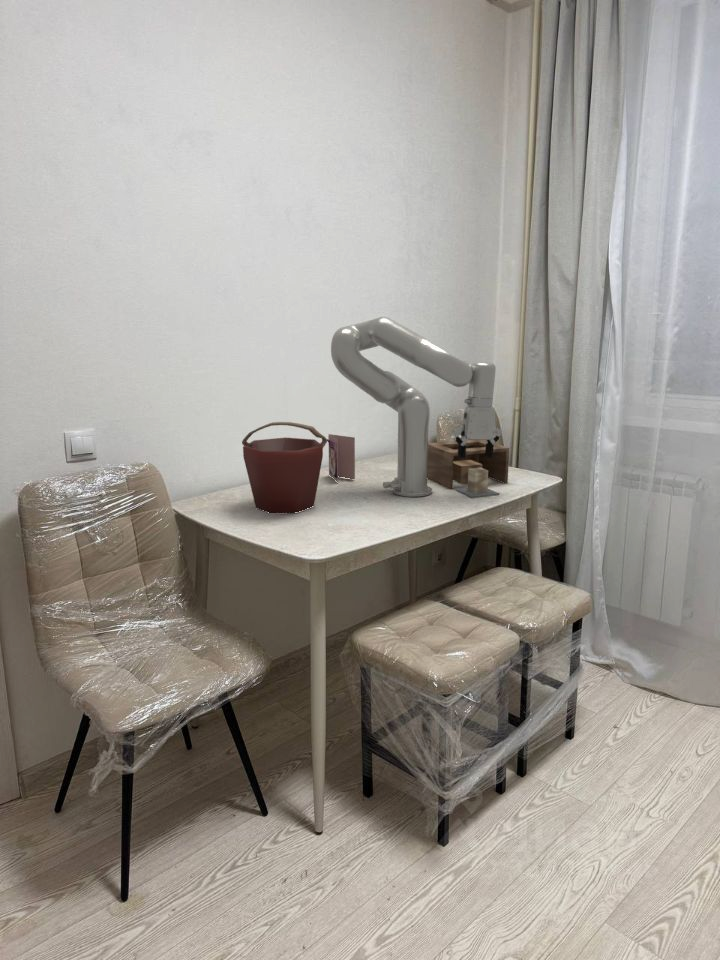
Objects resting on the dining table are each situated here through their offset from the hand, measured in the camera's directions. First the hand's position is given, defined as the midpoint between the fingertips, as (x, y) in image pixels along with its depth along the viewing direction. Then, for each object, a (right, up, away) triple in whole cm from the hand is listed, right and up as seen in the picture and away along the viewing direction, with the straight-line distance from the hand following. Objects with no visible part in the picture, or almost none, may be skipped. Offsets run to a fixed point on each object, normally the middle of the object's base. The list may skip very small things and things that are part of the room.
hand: (475, 457), depth 209 cm
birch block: (+1, -11, +3) cm, 11 cm away
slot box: (0, -7, +19) cm, 20 cm away
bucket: (-58, -15, -12) cm, 61 cm away
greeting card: (-43, -7, +21) cm, 48 cm away
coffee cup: (+1, -3, +36) cm, 36 cm away
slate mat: (+1, -11, +3) cm, 12 cm away
